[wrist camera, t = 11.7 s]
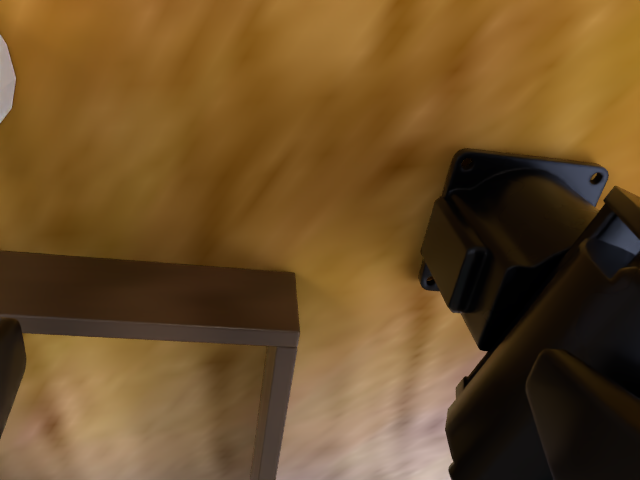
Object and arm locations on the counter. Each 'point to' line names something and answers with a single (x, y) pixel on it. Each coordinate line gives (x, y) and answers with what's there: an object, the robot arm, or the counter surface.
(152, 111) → the counter surface
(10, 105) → the shot glass
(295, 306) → the brown square frame
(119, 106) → the counter surface
